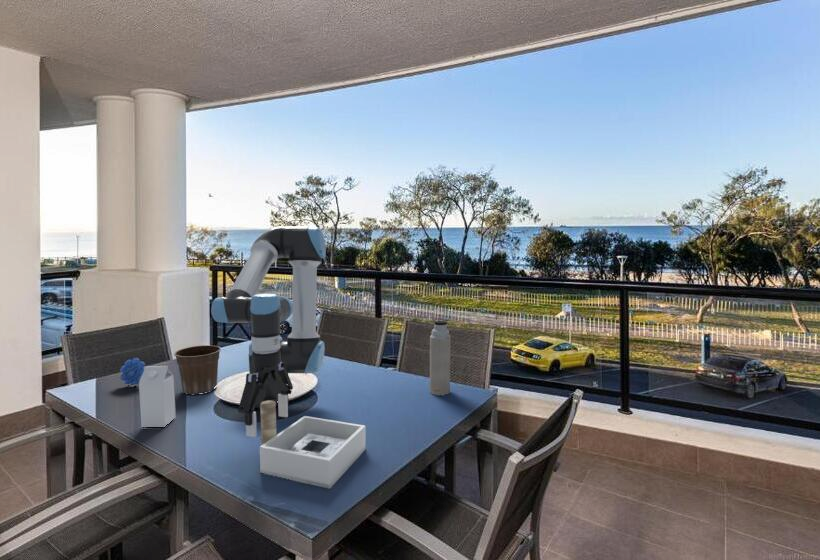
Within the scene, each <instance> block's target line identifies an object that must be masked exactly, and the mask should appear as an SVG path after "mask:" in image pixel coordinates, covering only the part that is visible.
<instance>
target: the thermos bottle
mask: <svg viewBox="0 0 820 560" xmlns="http://www.w3.org/2000/svg"><path fill="white" fill-rule="evenodd" d="M433 323H434V325H433V329H432V330H431V335H430V336H429V393H430V394H432V395H433V394H434V396H440V395H441V396H446V395H445V394H447V395H449V394H450V393H451V341H452V340H451V338H452V336H451V335H450V331H449V329H447V327H448V326H447V324H448V322H447V321H444V320H436V321H434V322H433ZM448 393H449V394H448Z"/></svg>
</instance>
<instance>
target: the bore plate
mask: <svg viewBox="0 0 820 560" xmlns="http://www.w3.org/2000/svg"><path fill="white" fill-rule="evenodd" d="M345 441H346V440H344V439H338V438H332V437H327V436H321V435H315V434H310V433H309V434H307V435H306V436H305V437H303V438H302V439H301V440H300V441H298V442H297V443H296V444H294V445H293V446H292V447H291V448H289V449H288V450H290V451H295V452H300V453H305V454H310V455H315V456H321V457H326V458H328V457H329V456H330V455H331V454H332V453H334V452H335V451H336V450H337V449H338V448H339V447H340V446H341V445H342V444H343V443H344V442H345ZM311 451H318V452H320V453H316V452H311Z"/></svg>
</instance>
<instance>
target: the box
mask: <svg viewBox="0 0 820 560" xmlns="http://www.w3.org/2000/svg"><path fill="white" fill-rule="evenodd" d="M366 432H367V430H366V425H364V424H359V423H358V424H357V423H352V422H351V423H350V422H345V421H339V420H334V419H327V418H326V419H325V418H321V417H320V418H319V417H314V416H307V415H304V416H302V417H300V418H299V419H298V420H297V421H295V422H293V423H292V424H291V425H289V426H288V427H286V428H285V429H283V430H281V432H279V433H278V434H277V433H276V436H275V437H273V438H272V439H270V440H269V441H267V442H266V443H265V444H263V445H262V444H261V446H259V466H260V467H259V469H260V472H262V473H266V474H270V475H274V476H273V477H275V476H278V477H277V478H279V477H282V478H281V479H284V478H286V479H285V480H288V479H289V481H293V482H299V483H303V484H306V485H312V486H315V487H316V486H317V487H320V488H325V489H329V490H330V489H331V488H332V487H333V486H334V485H335V484H336V482H338V481H339V479H340V478H341V477H342V476H343V475H344V474H345V473H346V471H348V469H349V468H350V467H352V465H353V464H354V463H355V462H356V461H357V460H358V458H359V457H360V456H362V454H363V453H364V452H365V451H366V449H367V448H366V447H367V446H366V440H367V439H366V436H367V435H366V434H367V433H366ZM309 433H310V434H315V435H321V436H327V437H332V438H338V439H344V440H346V441H345V442H344V443H343V444H342V445H341V446H340V447H339V448H338V449H337V450H336V451H335V452H334V453H332V454H331V455H330V456H329V457H328V458H326V457H321V456H315V455H310V454H305V453H300V452H295V451H290V450H288V449H289V448H291V447H292V446H293V445H294V444H296V443H297V442H298V441H300V440H301V439H302V438H303V437H305V436H306V435H307V434H309ZM311 452H316V453H320V452H318V451H311ZM266 474H265V475H266ZM270 475H269V476H270Z"/></svg>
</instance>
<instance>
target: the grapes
mask: <svg viewBox="0 0 820 560" xmlns="http://www.w3.org/2000/svg"><path fill="white" fill-rule="evenodd" d="M145 366H146V363H145V362H144V361H140V359H139V358H138V357H134V358H133V359H126V361H125V362H124V365H123V366H121V367H120V368H119V369H120V373H122V374H121V375H120V380H121V381H124V385H125V384H130V383H131V385H134V384H138V383H139V381H140V379H141V376H142V374H143V372H144V367H145ZM131 385H130V386H131ZM138 385H139V384H138Z"/></svg>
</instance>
